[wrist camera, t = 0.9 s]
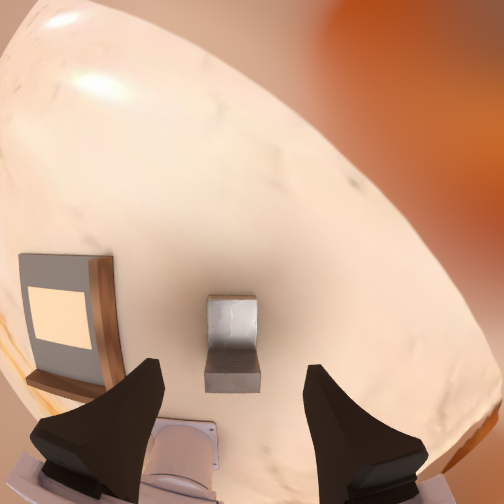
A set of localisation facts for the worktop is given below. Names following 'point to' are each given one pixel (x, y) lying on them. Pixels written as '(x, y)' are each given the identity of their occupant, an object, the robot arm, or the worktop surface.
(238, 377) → the angle bracket
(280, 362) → the worktop surface
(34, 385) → the corner walls
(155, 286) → the worktop surface
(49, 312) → the corner mat
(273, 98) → the worktop surface
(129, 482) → the robot arm
